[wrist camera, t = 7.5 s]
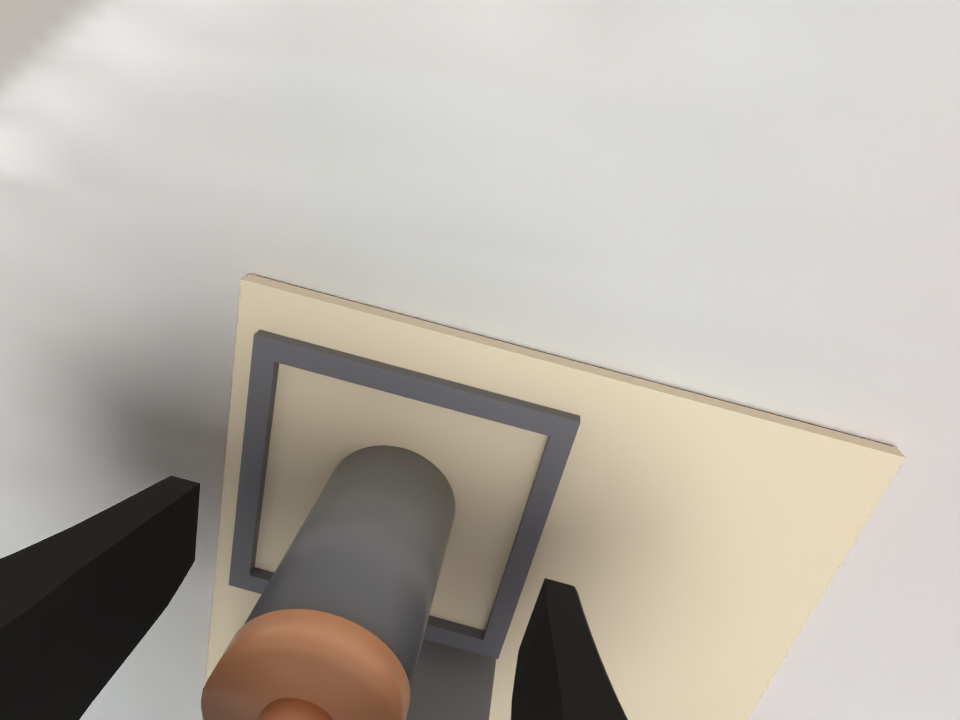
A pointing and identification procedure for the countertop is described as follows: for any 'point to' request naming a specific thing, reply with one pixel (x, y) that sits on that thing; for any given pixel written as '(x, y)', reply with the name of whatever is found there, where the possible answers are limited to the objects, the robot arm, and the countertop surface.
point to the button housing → (451, 684)
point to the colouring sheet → (547, 496)
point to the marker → (344, 600)
